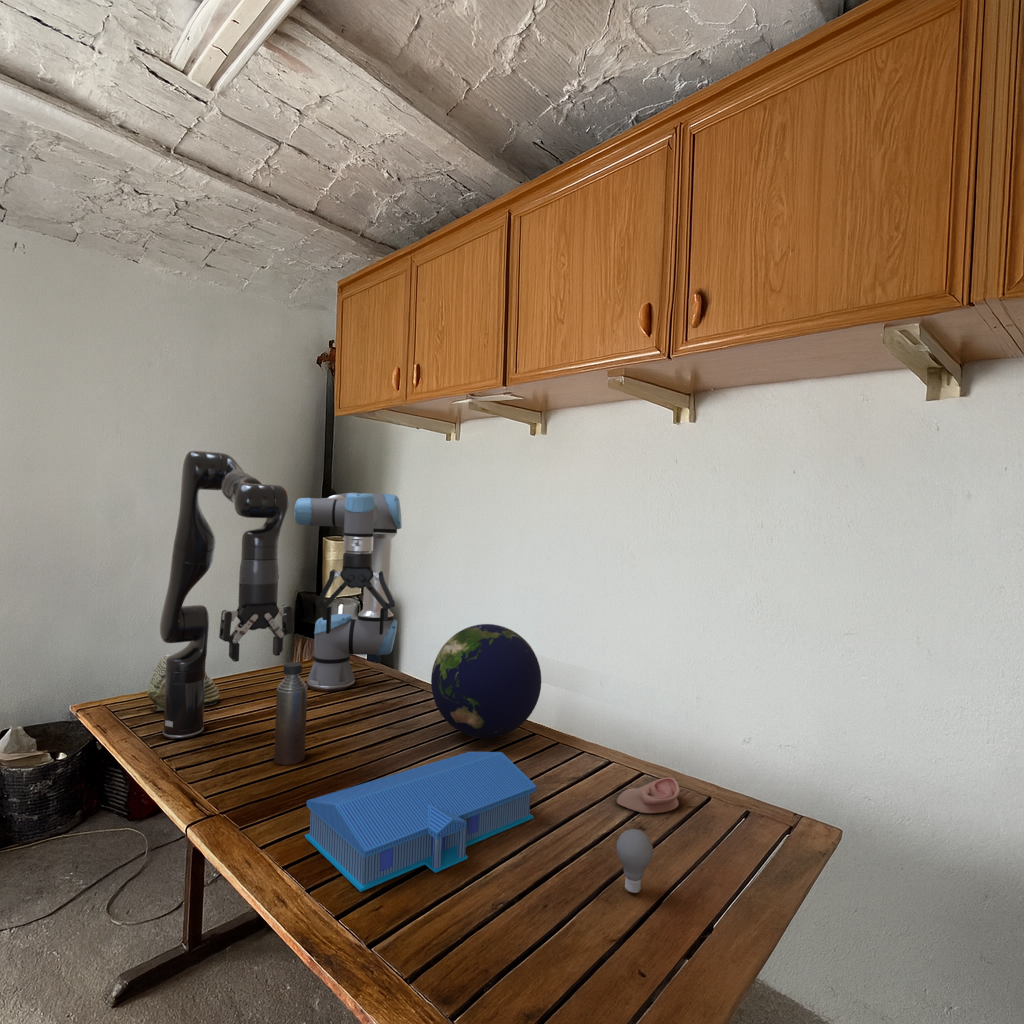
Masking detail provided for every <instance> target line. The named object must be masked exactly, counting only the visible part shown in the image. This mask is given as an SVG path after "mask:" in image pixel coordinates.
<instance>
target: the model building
mask: <svg viewBox="0 0 1024 1024" xmlns="http://www.w3.org/2000/svg"><path fill="white" fill-rule="evenodd" d="M537 789H538V788H537V785H536V784H535V783H534V782H533V781H532V780H531V779H530V778H529V777H528V776H527V775H526V774H525V773H524V772H523V771H522V770H521V769H520V768H519V767H518V766H517V765H516V764H515V763H513V761H511V759H510V758H509V757H507V755H505V754H504V752H502V751H468V752H464V753H460V754H457V755H454V756H450V757H447V758H444V759H441V760H437V761H434V762H431V763H427V764H424V765H421V766H418V767H414V768H411V769H407V770H404V771H400V772H398V773H394V774H390V775H387V776H384V777H381V778H377V779H374V780H371V781H366V782H364V783H360V784H357V785H354V786H350V787H347V788H344V789H341V790H340V789H339V790H337V791H334V792H330V793H327V794H324V795H321V796H320V795H319V796H316V797H314V798H310V799H308V800H306V807H307V808H308V809H309V811H310V817H309V819H310V820H309V822H310V823H309V832H308V833H306V834H304V838H305V839H306V840H307V841H308V842H309V843H310V844H311V845H312V846H313V847H314V848H315V849H316V850H317V851H318V852H319V853H320V854H321V855H322V856H323V857H324V858H325V859H326V860H327V861H328V862H329V863H330V864H331V865H332V866H334V868H335V869H336V870H338V872H339V873H340V874H342V875H343V876H344V877H345V879H346V880H348V881H349V882H350V883H351V884H352V885H353V886H354V887H355V888H356V889H357V891H359V892H360V893H363V892H364V891H366V890H370V889H371V888H373V887H375V886H378V885H381V884H382V883H385V882H388V881H389V880H392V879H394V878H397V877H400V876H402V875H404V874H406V873H409V872H410V871H413V870H416V869H418V868H420V867H423V866H426V867H427V868H429V870H431V871H432V872H433V873H435V874H437V873H439V872H441V871H443V870H445V869H448V868H450V867H452V866H455V865H457V864H459V863H461V862H463V861H466V860H469V859H468V857H469V856H468V855H467V854H466V848H467V847H469V846H472V845H474V844H476V843H479V842H482V841H484V840H486V839H488V838H490V837H493V836H496V835H497V834H500V833H502V832H505V831H506V830H507V831H508V830H510V829H512V828H513V827H516V826H519V825H521V824H524V823H526V822H528V821H530V820H533V819H534V815H533V814H531V813H530V812H531V811H530V810H531V794H533V793H535V792H537Z"/></svg>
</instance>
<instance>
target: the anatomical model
mask: <svg viewBox="0 0 1024 1024" xmlns="http://www.w3.org/2000/svg"><path fill="white" fill-rule="evenodd" d="M680 793H681V790H680V786H679V783H678V781H677V780H676V779H675V778H674V777H670V776H669V777H668V776H667V777H662V778H659V779H656V780H653V781H651V782H648V783H647V784H645V785H643V786H640V787H637V788H634V787H633V788H628V789H625V790H623V791H622V792H621V793H620V794H619V795H618V797H617V798H616V804H617V805H619V806H621V807H624V808H626V809H628V810H631V811H633V812H639V813H642V814H659V813H660V814H661V813H665V812H670V811H672V810H674V809H676V808H678V807H679V805H680V803H679V802H680V801H679V800H678V797H679V795H680Z"/></svg>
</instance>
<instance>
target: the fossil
mask: <svg viewBox="0 0 1024 1024" xmlns="http://www.w3.org/2000/svg"><path fill="white" fill-rule="evenodd" d="M171 655H172V654H165V655H164V656H163V657H162V658H161V659H160V660H159V662H158V663H157V666H156V667H155V669H154V670H153V672H152V675H151V677H150V680H149V684H148V688H147V697H148V699H149V700H150V701H152V703H153V704H154V706H155V711H158V712H159V711H162V712H163V711H164V705H165V674H166V660H167V658H168V657H169V656H171ZM220 698H221V696H220V690H219V688H218V686H217V685H216V683H215V682H214V681H213V679H212V678H211V677H209V675H208V674H207V672H206V671H205V693H204V707H207V706H213V705H215V704H217V703H218V701H219V699H220Z"/></svg>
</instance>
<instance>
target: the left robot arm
mask: <svg viewBox="0 0 1024 1024" xmlns="http://www.w3.org/2000/svg"><path fill="white" fill-rule="evenodd" d="M204 490H206V491H221V493H222V495H223V496H224V497H225V499H227V500H228V501H229V502H231V503H232V504H233V506H234V510H235V512H236V514H237V515H238V516H240V517H242V518H246V519H265V521H264V523H263V524H262V525H261V526H260V527H258V528H253V529H248V530H246V531H244V533H243V534H242V538H241V559H240V566H239V576H238V580H239V581H238V606H237V609H236V610H228V609H223V610H222V611H221V613H220V622H219V623H220V626H219V635H218V638H219V639H220V640H222V641H223V642H228V657H229V659H231V661H232V662H234V663H235V662H240V644H241V643H239V642H240V641H241V639H242V638H243V636H244V635H246V634H247V633H248V631H249V630H250V631H256V630H258V629H260V630H267V628H268V629H269V631H271V633H272V634H273V635H274V636H273V637H272V655H274V656H276V657H277V656H278V657H279V656H280V655H281V653H282V652H283V650H284V648H283V646H284V637H286V636H287V635H291V634H292V633H293V607H292V606H290V605H287V604H282V606H278V594H279V592H278V591H279V579H280V575H279V561H278V560H279V559H278V557H279V539H280V535H281V532H282V527H283V525H284V521H285V518H286V516H287V513H288V509H289V506H290V505H289V504H290V497H289V494H288V491H287V490H286V489H285V487H283V486H282V485H278V484H262V482H261V481H260V480H259V479H257V478H256V477H254V476H252V475H251V474H248V473H246V472H245V471H244V469H243V468H242V467H241V466H240V465H239V463H238V462H237V461H236V460H235V459H234V458H233V457H232V456H231V455H229V454H227V453H224V452H216V451H205V450H204V451H203V450H191V451H188V452H187V453H186V455H185V457H184V460H183V463H182V471H181V483H180V500H179V509H178V510H179V512H178V518H177V524H176V530H175V535H174V542H173V546H172V554H171V563H170V564H171V565H170V572H169V579H168V586H167V590H166V594H165V599H164V603H163V608H162V611H161V616H160V622H159V634H160V635H159V636H160V638H161V640H162V641H163V642H164V643H166V644H178V643H188V644H187V645H186V646H184V647H183V648H182V649H180V650H179V651H177V652H175V653H173V654H170V655H171V656H169V657H168V658H167V660H166V674H165V705H164V710H163V730H162V737H164V738H166V739H169V740H185V739H190V738H191V739H192V738H194V737H197V736H199V735H202V734H203V732H204V730H205V729H204V726H205V725H204V722H205V721H204V718H205V706H204V693H205V672H206V664H207V663H206V660H207V653H208V640H209V633H210V631H209V630H210V615H209V614H210V613H209V610H208V609H207V607H206V606H205V605H203V604H194V605H193V604H192V605H183V604H184V603H185V600H186V598H187V596H188V595H189V593H190V592H191V590H192V589H193V588H194V587H195V586H196V585H197V584H198V583H199V581H200V580H201V579H202V578H203V577H204V576H205V575H206V573H208V571H209V570H210V568H211V566H212V564H213V561H214V554H215V548H216V536H215V534H214V531H213V529H212V526H210V524H209V522H208V521H207V519H206V517H205V516H204V513H203V511H202V508H201V507H200V506H201V505H200V503H199V492H200V491H204ZM278 615H279V616H281V626H282V627H281V628H280V626H279V624H278V623H277V622H276V620H275V619H276V617H277V616H278ZM235 618H237V619H238V622H237V624H236V626H234V629H233V631H231V630H232V623H233V622H234V621H235Z"/></svg>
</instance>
